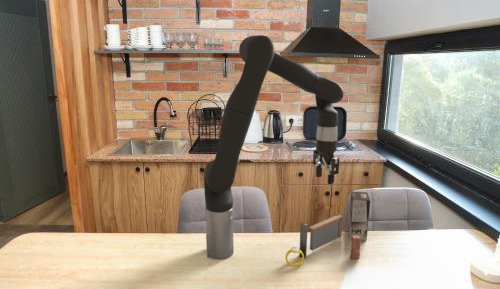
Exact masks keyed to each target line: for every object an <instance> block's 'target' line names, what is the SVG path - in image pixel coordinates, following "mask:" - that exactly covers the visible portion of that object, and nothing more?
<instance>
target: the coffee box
mask: <svg viewBox="0 0 500 289" xmlns="http://www.w3.org/2000/svg"><path fill="white" fill-rule="evenodd" d="M349 199H350V200H349V215H348V227H347V228H348V235H349V239H350V240H352V236H354V235H359V236H360V238H361V241H367V240H368V238H367V237H368V229H369V221H370V220H369V218H370V209H371V208H370V207H371V199H370V197H369V194H368V192H366V191H350V198H349Z"/></svg>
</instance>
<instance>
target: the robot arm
mask: <svg viewBox="0 0 500 289" xmlns="http://www.w3.org/2000/svg"><path fill="white" fill-rule="evenodd" d="M238 47H239V48H238V51H239V52H238V53H239V56H240V58H241V59H242V61H243V63H244V65H243V70H242V73H241V75H240V78H239V81H238V82H237V84H236V85H235V88H234V89H233V90H232V92H231V94H230V95H229V98H228V99H227V102H226V104H225V107H224V111H223V114H222V118H221V122H220V127H219V138H218V139H219V140H218V146H217V151H216V154H215V157H214V159H213V160H211V161H209V162H208V163H207V164H206V166H205V167H204V170H203V186H204V190H203V191H204V200H205V217H206V218H205V219H206V225H205V226H206V229H205V230H206V231H205V239H206V240H205V241H206V258H211V259H214V260H226V259H229V258H230V257H231V256H233V255H234V249H235V247H234V246H235V244H234V199H233V195H232V187H233V185H234V182H235V177H236V172H237V167H238V163H239V158H240V155H241V151H242V148H243V146H244V143H245V140H246V137H247V135H248V131H249V128H250V126H251V123H252V120H253V116H254V113H255V110H256V106H257V103H258V99H259V95H260V92H261V90H262V85H263V83H264V80H265V78H266V76H267V73H268V72H270V73H272V74H275V75H276V76H278V77H281V78H282V79H283V80H285V81H287V82H289V83H291V84H292V85H294V86H295V87H297V88H299V89H301V90H303V91H305V92H307V93H309V94H313V95H314V96H315V98H314V99H315V106H316V110H317V115H318V116H317V128H316V135H315V136H316V137H315V138H316V140H315V149H313V155H312V156H313V157H312V158H313V159H312V166H313V165H314V167H315V177H316V178H321V177H322V176H323V174H322V173H323V166H324V168H325V169H326V170H327V184H328V185H333V184H335V175H339V171H340V157H335V152H336V151H338V150H337V149H338V134H339V132H338V131H339V130H338V124H339V114H338V113H339V112H338V111H337V110H336V109H335V108H334V107H333V106H334V105H333V104H336V103H337V104H338V103H339V102H341V101H342V100H343V98H344V95H345V94H344V93H345V92H344V89H343V88H344V87H343V86H341V85H340V83H338V82H336V81H333V80H332V79H330V78H327V77H325V76H322V75H320V74H319V73H317V72H315V71H313V70H312V69H310V68H308V67H307V66H305V65H303V64H300V63H298V62H296V61H294V60H291V59H289V58H286V57H284V56H282V55H281V54H279V53H277V52H275V45H274V42H273V40H272V39H271V38H270V37H269V36H267V35H263V34H261V35H260V34H259V35H249V36H247V37H245V38H244V39H243V40H242V41H240V44H239V46H238Z"/></svg>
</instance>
